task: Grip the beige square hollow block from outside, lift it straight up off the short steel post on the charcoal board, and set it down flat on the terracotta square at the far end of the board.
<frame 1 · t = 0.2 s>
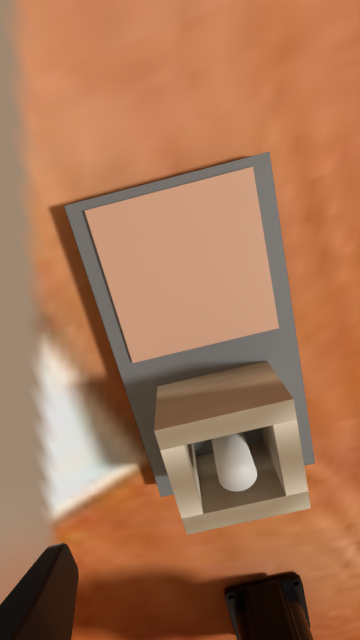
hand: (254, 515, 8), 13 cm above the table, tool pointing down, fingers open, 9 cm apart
stand board: (204, 345, 21), on the table
beige square hollow block: (223, 420, 21), point 1 cm above the table, touching stand board
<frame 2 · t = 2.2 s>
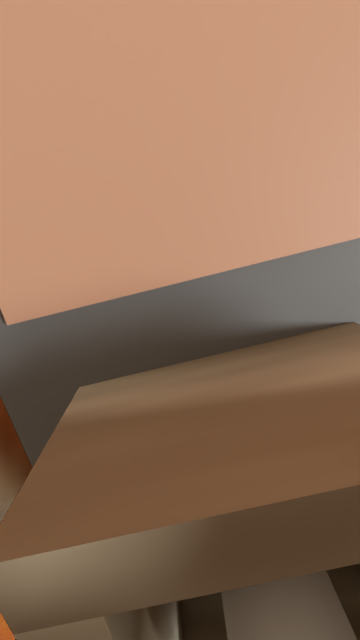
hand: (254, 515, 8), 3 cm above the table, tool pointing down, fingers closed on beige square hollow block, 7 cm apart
stand board: (197, 289, 9), on the table
beige square hollow block: (240, 468, 9), point 1 cm above the table, touching gripper, stand board
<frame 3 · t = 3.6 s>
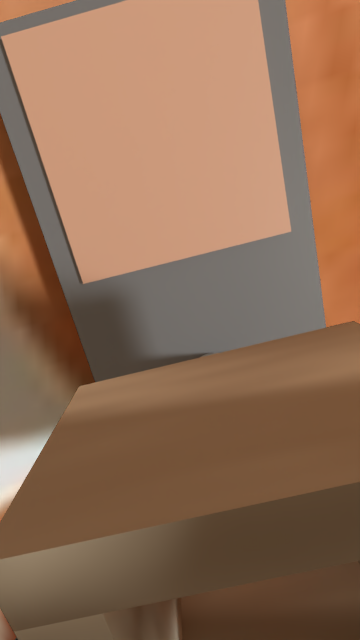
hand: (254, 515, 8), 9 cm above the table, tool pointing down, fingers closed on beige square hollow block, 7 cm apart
stand board: (187, 266, 15), on the table
beige square hollow block: (240, 467, 9), point 7 cm above the table, touching gripper
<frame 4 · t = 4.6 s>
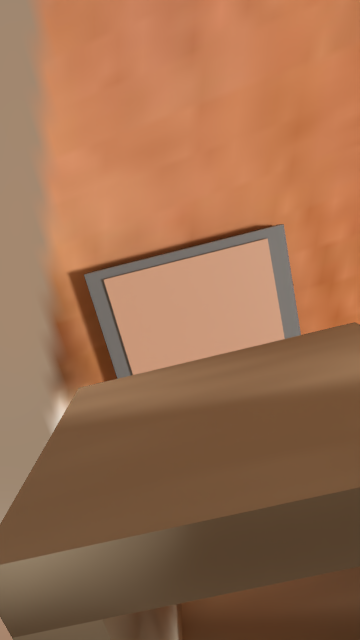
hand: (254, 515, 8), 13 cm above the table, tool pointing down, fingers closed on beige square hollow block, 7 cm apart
stand board: (218, 403, 21), on the table
beige square hollow block: (240, 469, 9), point 11 cm above the table, touching gripper
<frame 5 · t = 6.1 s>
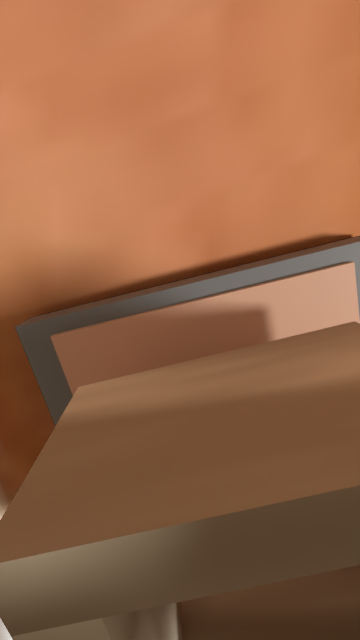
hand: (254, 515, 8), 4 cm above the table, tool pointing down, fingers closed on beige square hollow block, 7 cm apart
stand board: (248, 516, 13), on the table
beige square hollow block: (240, 468, 9), point 3 cm above the table, touching gripper
when the fingers open (4 cm above the table, at t = 7.1 s): beige square hollow block drops 1 cm, resting on stand board.
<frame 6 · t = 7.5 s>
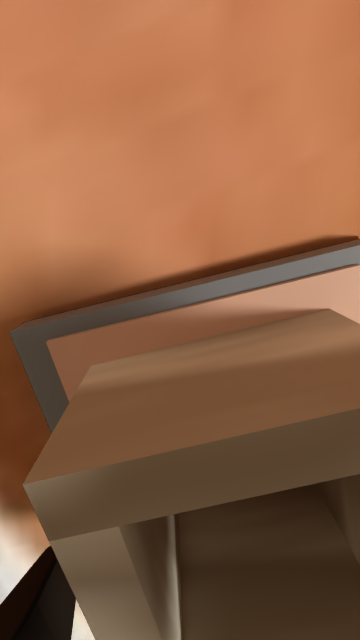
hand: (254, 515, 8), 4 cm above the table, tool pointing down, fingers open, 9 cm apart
stand board: (251, 524, 13), on the table
beige square hollow block: (232, 439, 10), point 1 cm above the table, touching stand board
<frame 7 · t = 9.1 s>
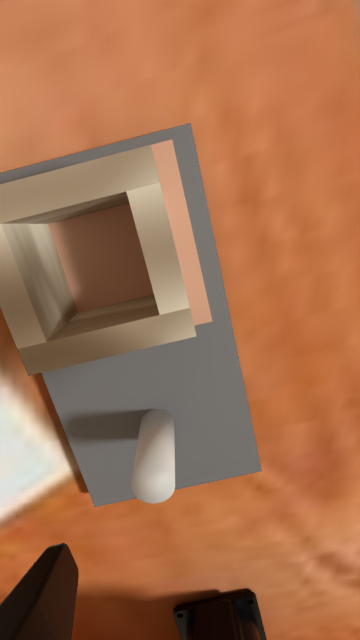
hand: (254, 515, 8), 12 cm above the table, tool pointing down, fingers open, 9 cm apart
stand board: (136, 341, 19), on the table
beige square hollow block: (107, 259, 16), point 1 cm above the table, touching stand board
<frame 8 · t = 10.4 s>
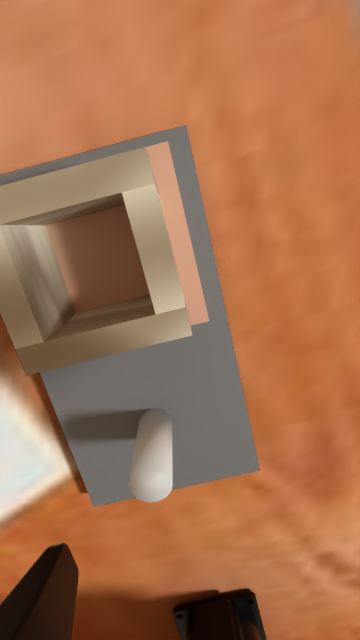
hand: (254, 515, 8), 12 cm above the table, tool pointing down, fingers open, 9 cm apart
stand board: (134, 341, 19), on the table
beige square hollow block: (104, 259, 16), point 1 cm above the table, touching stand board
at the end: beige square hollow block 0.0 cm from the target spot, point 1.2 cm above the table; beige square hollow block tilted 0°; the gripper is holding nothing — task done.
